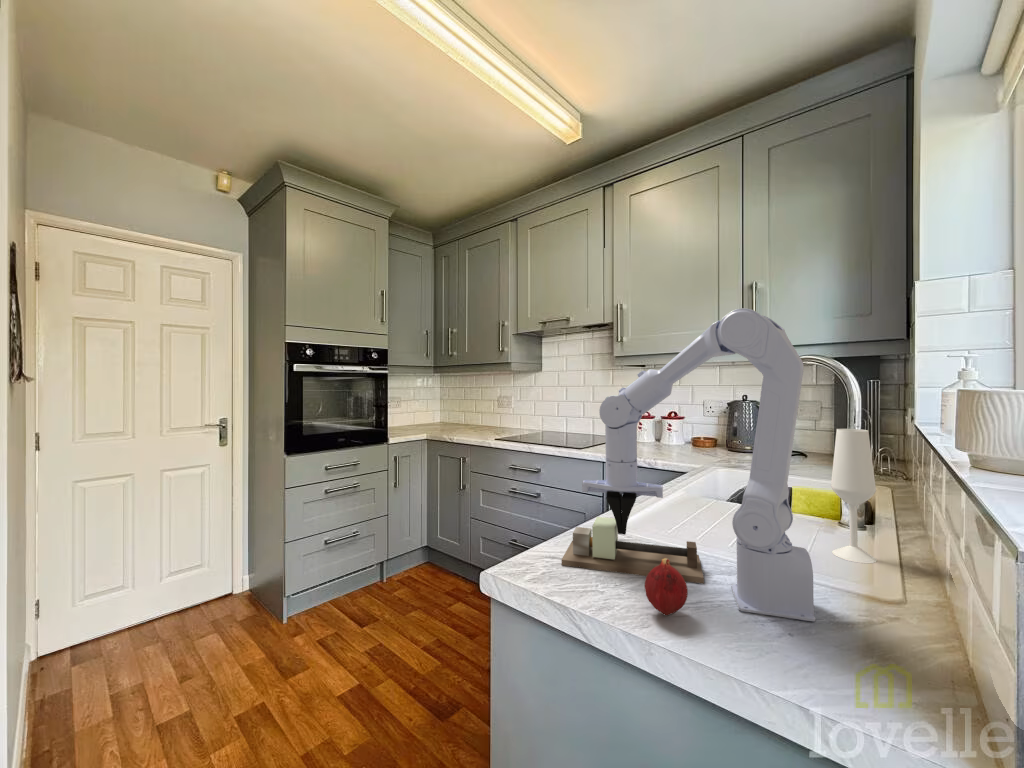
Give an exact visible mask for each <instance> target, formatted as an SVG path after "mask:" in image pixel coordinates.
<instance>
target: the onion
mask: <svg viewBox="0 0 1024 768" xmlns="http://www.w3.org/2000/svg"><path fill="white" fill-rule="evenodd" d="M669 562H670V560H668V559H667V558H664V559H662V562H661V564H660V565H658V566H656V567H654V568H653V569H652V570H651V571H650V572H649V573H648V575H647V576H645V580H644V592H645V596H646V599H647V600H648V602H649V603H650V604H651V605H652V606H653V608H654V609H656V610H657V612H659V613H661V614H662V615H663V616H670V615H672V614H675V613H677V612H678V611H679V610H681V609H682V608H683V606H684V605H685V604H686V603H687V601H688V600H687V599H688V595H689V594H688V586H687V581H685V580H684V578H683V577H682V575H681V574H680V573H679V572H678V571H677V570H676V569H675V568H674V567H672V566H671V565H670V563H669Z"/></svg>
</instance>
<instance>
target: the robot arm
mask: <svg viewBox="0 0 1024 768" xmlns="http://www.w3.org/2000/svg"><path fill="white" fill-rule="evenodd" d="M736 354H737V355H740V356H742V357H743V358H745V359H747V360H748V362H749V363H750V364H751V365H753V367H755V368H756V369H757V370H758V371H759V372H760V374H761V375H762V384H761V391H760V398H759V406H758V411H757V419H756V426H755V435H754V442H753V448H752V457H751V463H750V464H751V465H750V471H749V478H748V482H747V484H746V487H745V489H744V491H743V495H742V502H741V505H740V507H738V509H737V510H736V511H735V513H734V514H733V517H732V523H731V524H732V529H733V532H734V533H735V535H736V583H732V584H731V585H730V588H731V590H732V594H733V596H734V600H735V602H736V605H737V606H736V607H737V608H738V610H739V611H740V612H745V613H752V614H759V615H766V616H773V617H780V618H786V619H787V618H788V619H793V620H801V621H805V622H807V621H808V622H816V617H815V614H814V612H815V611H814V610H815V609H814V608H815V607H814V605H815V604H814V570H813V563H812V559H811V556H810V553H809V551H808V550H807V549H806V548H805V547H802V546H801V547H800V546H795V545H793V542H791V540H790V538H789V537H788V535H787V534H786V531H788V530H789V529H790V528H791V526H792V525H793V521H794V520H793V519H794V514H793V511H792V509H791V506H790V504H789V503H790V502H789V496H790V490H789V485H788V482H789V475H790V474H789V473H790V468H791V467H790V466H791V461H792V453H793V445H794V440H795V439H794V438H795V432H796V425H797V417H798V412H799V411H798V410H799V404H800V396H801V392H802V391H801V390H802V383H803V378H804V377H803V376H804V370H805V367H804V362H803V360H802V359H801V357H800V355H799V353H798V352H797V350H796V348H795V347H794V345H793V344H792V341H791V340H790V339H789V337H788V336H787V333H786V331H785V328H783V327H782V326H780V325H779V324H778V323H777V322H775V321H774V320H773V319H771V318H769V316H766V315H762V314H760V313H759V312H758V311H756V310H754V309H750V308H747V307H744V308H743V307H742V308H736V309H733V310H732V311H730V312H728V313H727V314H726V315H724V316H723V317H722V318H721V320H717V321H715V322H713V323H712V324H710V325H709V326H708V327H707V328H706V329H705V330H704V331H703V332H702V333H701V334H700V335H698V337H696V338H695V339H693V341H691V343H689V344H688V345H687V346H686V347H685V348H684V349H682V350H681V351H680V352H678V354H677V355H676V356H674V357H673V358H672V359H671V360H670V361H669V362H667V363H666V364H665V365H663V367H661V368H660V369H653V368H650V369H647V370H641V371H640V372H638V373H637V374H636V376H637V378H636V379H635V380H634V381H632V383H630V384H629V385H628V386H626V387H621V388H620V389H618V395H609V396H606V397H605V399H604V400H603V401H602V402H601V404H600V406H599V410H598V411H599V417H600V420H601V421H602V423H603V424H604V425H605V437H604V438H605V479H594V480H591V479H583V481H582V483H581V485H582V487H581V491H582V493H589V492H590V493H604V494H606V498H605V499H606V501H607V504H608V505H609V507H610V510H611V512H612V514H613V515H612V516H613V518H615V521H616V524H617V529H618V535H623V536H625V535H626V534H627V526H628V521H629V519H630V518H629V517H630V514H631V512H632V510H633V507H634V506H635V503H636V500H637V496H644V497H645V496H646V497H647V496H648V497H656V498H661V499H663V497H664V490H663V486H664V485H663V484H655V483H647V482H641V481H638V438H637V437H638V434H637V432H638V431H637V430H638V429H637V426H638V424H639V422H640V421H641V419H642V417H643V415H645V414H646V413H648V411H650V410H652V409H653V408H654V407H656V406H657V405H658V404H660V403H662V401H664V400H665V399H667V398H668V397H669V396H671V395H672V389H673V385H674V384H676V382H678V381H679V380H681V379H682V378H684V377H686V375H688V374H690V373H691V372H693V371H694V370H695V369H697V368H699V367H700V366H702V365H703V364H705V363H706V362H707V361H709V360H711V359H712V358H716V357H723V356H731V355H736Z"/></svg>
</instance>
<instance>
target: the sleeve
mask: <svg viewBox="0 0 1024 768" xmlns="http://www.w3.org/2000/svg"><path fill="white" fill-rule="evenodd" d="M591 527H592V528H591V531H592V544H593V557H598V558H606V559H614V560H615V557H616V553H617V549H616V541H619V534H618V529H617V524H616V521H615V517H612V518H611V517H603V516H596V518H595V519H594V522H593V525H592V526H591Z"/></svg>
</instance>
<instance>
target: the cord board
mask: <svg viewBox="0 0 1024 768" xmlns="http://www.w3.org/2000/svg"><path fill="white" fill-rule="evenodd" d="M616 549H617V553H616V557H615V560H614V559H606V558H598V557H593V544H592V528H591V527H590V528H589V527H580V526H575V529H574V530H573V531H572V541H570V544H569V546H568V547H567V549H566V551H565V553H564V554H563V556H562V558H561V566H565V567H572V568H573V567H574V568H582V569H589V570H597V571H605V572H612V573H620V574H628V575H633V576H634V575H635V576H643V577H647V575H648V573H649V572H650V571H651V570H652V569H653V568H654V567H656V566H658V565H660V564H661V562H662V559H664V558H667V559H668V560H670V562H669V563H670V565H671V566H672V567H674V568H675V569H676V570H677V571H678V572H679V573H680V574H681V575H682V577H683V578H684V580H685V582H686V583H694V584H695V583H696V584H705V583H704V582H705V581H704V580H705V579H704V578H705V577H704V573H703V569H702V564H701V560H700V556H699V554H698V547H697V544H696V542H695V541H689V540H687V541H686V547H677V546H676V547H675V546H667V545H657V544H650V543H648V544H647V543H639V542H629V541H620V540H618V541H616Z"/></svg>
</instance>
